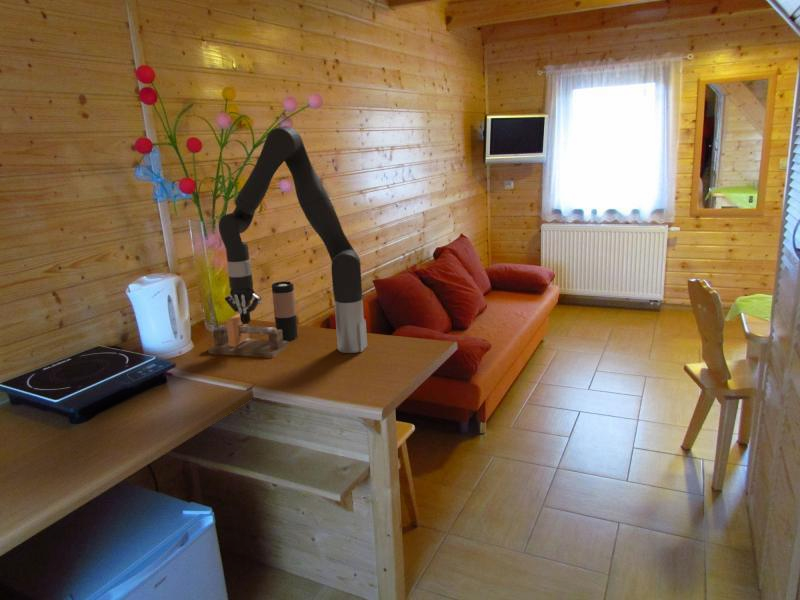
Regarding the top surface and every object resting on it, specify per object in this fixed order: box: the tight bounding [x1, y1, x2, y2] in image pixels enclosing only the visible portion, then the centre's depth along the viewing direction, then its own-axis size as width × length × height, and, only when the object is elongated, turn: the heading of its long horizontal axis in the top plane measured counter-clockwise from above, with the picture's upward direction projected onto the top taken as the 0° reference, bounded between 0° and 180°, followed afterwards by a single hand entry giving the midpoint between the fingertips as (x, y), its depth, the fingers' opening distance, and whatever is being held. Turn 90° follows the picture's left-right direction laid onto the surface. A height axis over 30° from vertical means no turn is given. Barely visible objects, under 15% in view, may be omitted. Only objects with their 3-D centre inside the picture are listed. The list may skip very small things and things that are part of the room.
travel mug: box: [271, 281, 299, 342], centre depth 200 cm, size 8×8×20 cm
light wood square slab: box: [225, 312, 250, 346], centre depth 192 cm, size 2×9×9 cm, turn 165°
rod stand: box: [207, 324, 290, 359], centre depth 192 cm, size 24×12×8 cm, turn 75°
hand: (245, 323), depth 190 cm, fingers closed
